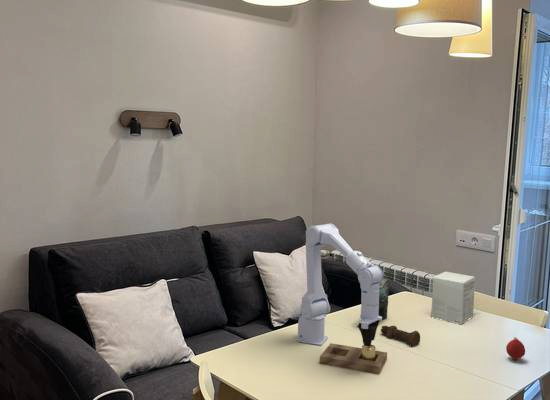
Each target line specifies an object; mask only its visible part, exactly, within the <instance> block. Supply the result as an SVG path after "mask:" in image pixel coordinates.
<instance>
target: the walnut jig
mask: <svg viewBox="0 0 550 400" xmlns="http://www.w3.org/2000/svg"><path fill="white" fill-rule="evenodd" d="M387 361H388V352H386V351H380V350H375V361H369V360H363V359H362V347H355V346H351V345H344V344H338V343H332V342H330V343H329V345H327V347H326V348H325V349H324V350H323V352H322V353H321V354H320V355H319V364H320V365H321V364H322V365H328V366H332V367H338V368H342V369H343V368H344V369H348V370H354V371H355V370H356V371H360V372H366V373H370V374H378V375H380V374H381V372H382V370H383V368H384V366H385V364H386V363H387Z"/></svg>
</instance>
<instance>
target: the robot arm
mask: <svg viewBox="0 0 550 400" xmlns="http://www.w3.org/2000/svg"><path fill="white" fill-rule="evenodd" d="M339 231H340V230H339V229H338V228H337V227H336V226H335V224H333V223H331V222H330V223H326V224H318V225H310V226H309V227H308V228H307V229H306V230H305V262H306V269H305V270H306V287H307V289H306V290H307V291H305V293H304V295H303V296H302V297H301V303H300V313H301V315H300V316H299V318H298V323H297V340H296V341H297V342H300V343H303V344H311V345H317V346H323V344H324V343H325V342H326V341H327V340H328V338H329V337H328V336H326V335H325V322H326V321H325V317H327V314H328V313H329V311H330V303H329V300H328V294H326V293H325V292H324V291H323V281H322V280H323V279H322V278H323V275H322V254H321V253H322V252H321V251H322V250H321V249H322V248H323V247H325V245H330V246H332V247H333V248H335V250H337V251H338V252H339V253H340V254H341V255H342V256H343V257H345V262H346V264H347V265H348V266H349V267H350V269H351V270H352V271H353V272H354V273H355V274H357V279H358V282H359V284H360V290H361V292H360V293H361V298H360V300H361V305H360V316H359V317H360V321H361V323H360V322H359V323H358V325H357V327H358V330H359V332H360V335H361V338H362V345H364V346H370V345H372V341H375V337H376V333H377V329H378V327H379V324H380V322H381V321H383V320H382V317H381V316H379V282H381V281H382V280H383V278H384V271H383V269H382V268H381V267H380V265H376V264H375V265H374V264H373V263H371V261H369V260H368V259H367V258H366V257H365V256H364V255H363V253H362V252H361V251H359V250H353V249H352V247H351V246H350V245H349V244H348V242H347V241H345V239H344V238H343V237H342V236H341V235H340V232H339Z"/></svg>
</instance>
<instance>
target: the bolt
mask: <svg viewBox="0 0 550 400" xmlns="http://www.w3.org/2000/svg"><path fill="white" fill-rule="evenodd" d="M380 332H381V334H383V335H386V336H387V337H388V339H393V340H394V339H398V340H402V341H405V342H407V343H409V345H410V347H417V346H418V345H419V344H420V342H421V334H420V332H419V331H418V330H414V331H411V332H408V331H406V330H402V329H398V327H397V325H396V326H395V325H390V326H388V325H383V326H381V328H380Z"/></svg>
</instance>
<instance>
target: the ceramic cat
mask: <svg viewBox="0 0 550 400" xmlns="http://www.w3.org/2000/svg"><path fill="white" fill-rule="evenodd" d="M390 289H391V284H390V279H387V278H384V277H383V280H382V281H381V282H379V316H381V317H382V320H381V321H385V320H386V319H387V318H388V307H389V292H390Z"/></svg>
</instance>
